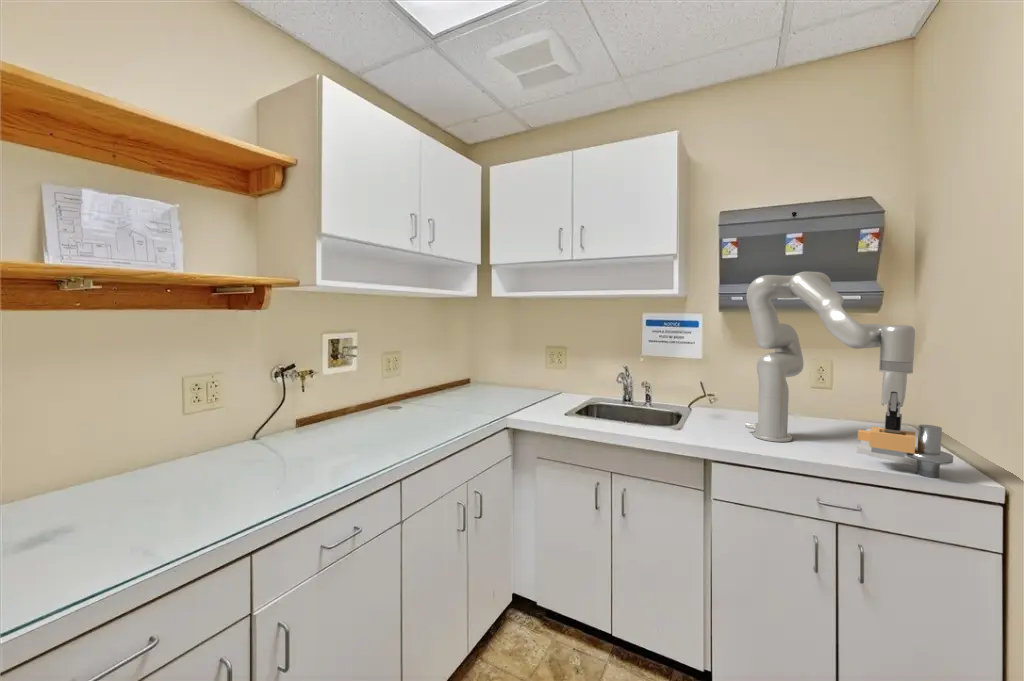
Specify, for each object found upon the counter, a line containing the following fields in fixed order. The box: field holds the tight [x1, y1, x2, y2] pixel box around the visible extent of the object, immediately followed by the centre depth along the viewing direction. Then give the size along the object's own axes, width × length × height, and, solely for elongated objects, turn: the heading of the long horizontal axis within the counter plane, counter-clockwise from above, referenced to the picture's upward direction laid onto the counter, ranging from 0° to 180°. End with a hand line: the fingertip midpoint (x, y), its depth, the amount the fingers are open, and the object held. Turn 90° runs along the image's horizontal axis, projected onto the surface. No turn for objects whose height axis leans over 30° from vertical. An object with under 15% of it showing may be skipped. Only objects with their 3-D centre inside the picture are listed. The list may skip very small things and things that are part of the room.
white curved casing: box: [856, 428, 918, 467], centre depth 143 cm, size 17×5×10 cm, turn 31°
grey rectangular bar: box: [884, 411, 903, 434], centre depth 132 cm, size 4×2×11 cm, turn 49°
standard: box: [871, 424, 954, 479], centre depth 130 cm, size 18×10×14 cm, turn 48°
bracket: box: [857, 426, 916, 454], centre depth 133 cm, size 13×8×4 cm, turn 48°
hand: (892, 428), depth 132 cm, fingers closed on grey rectangular bar, 2 cm apart
